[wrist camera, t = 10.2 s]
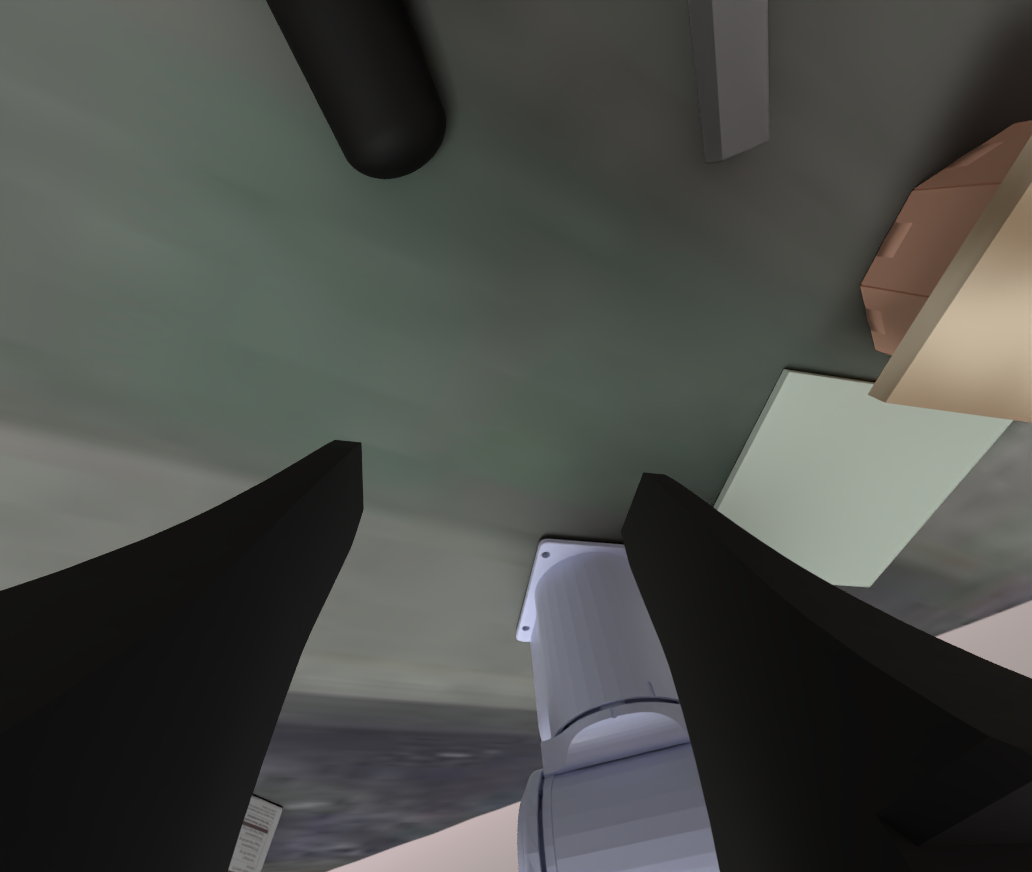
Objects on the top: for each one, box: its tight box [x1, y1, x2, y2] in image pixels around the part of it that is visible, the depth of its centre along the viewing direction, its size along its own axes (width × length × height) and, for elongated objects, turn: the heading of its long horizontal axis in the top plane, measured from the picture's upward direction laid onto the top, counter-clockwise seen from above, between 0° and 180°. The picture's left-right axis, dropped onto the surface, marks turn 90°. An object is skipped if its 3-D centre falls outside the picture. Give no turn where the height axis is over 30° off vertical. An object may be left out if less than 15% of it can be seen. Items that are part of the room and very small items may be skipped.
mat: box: [713, 369, 1013, 587], centre depth 23 cm, size 14×14×1 cm
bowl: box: [860, 120, 1032, 355], centre depth 15 cm, size 9×9×4 cm
